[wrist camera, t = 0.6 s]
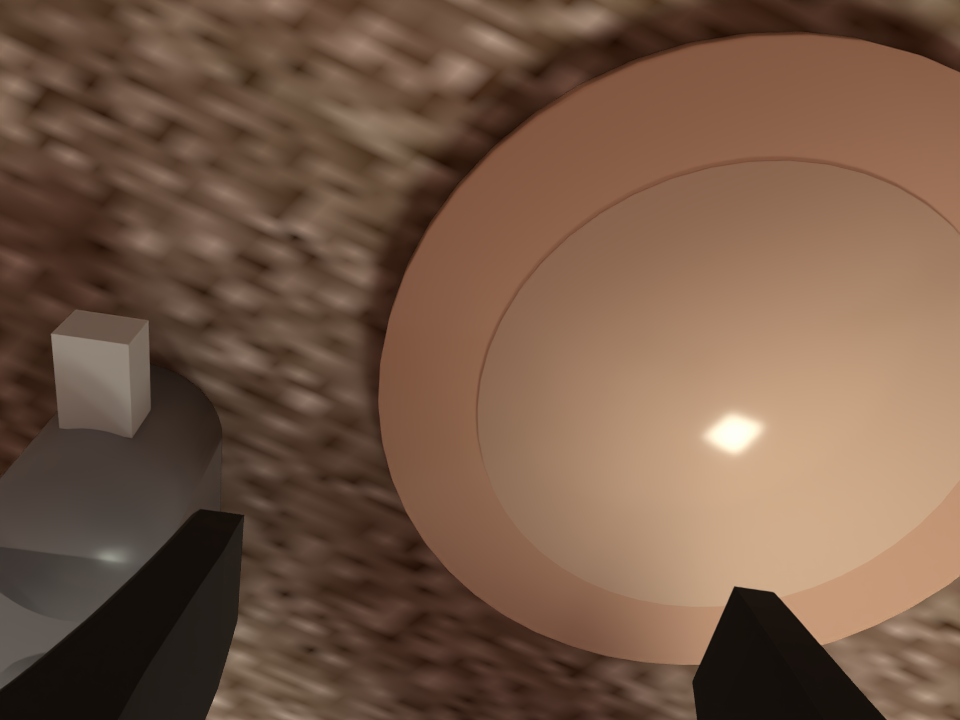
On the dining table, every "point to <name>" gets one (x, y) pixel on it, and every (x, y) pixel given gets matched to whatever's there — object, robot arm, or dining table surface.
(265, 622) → the dining table surface
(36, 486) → the connector
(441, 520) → the plate
